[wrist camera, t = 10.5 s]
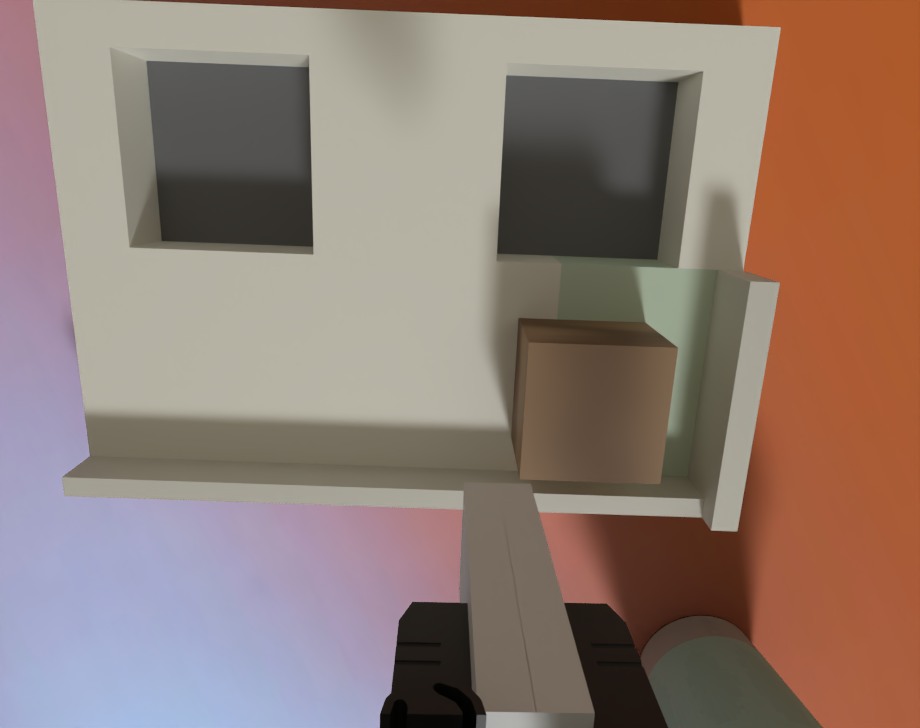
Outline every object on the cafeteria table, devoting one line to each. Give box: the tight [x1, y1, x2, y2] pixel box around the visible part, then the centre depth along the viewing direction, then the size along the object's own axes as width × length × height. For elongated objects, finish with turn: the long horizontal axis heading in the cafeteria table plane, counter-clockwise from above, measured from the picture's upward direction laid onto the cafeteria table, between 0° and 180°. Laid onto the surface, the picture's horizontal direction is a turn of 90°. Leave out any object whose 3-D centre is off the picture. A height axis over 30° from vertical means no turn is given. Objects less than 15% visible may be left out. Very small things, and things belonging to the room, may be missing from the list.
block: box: [511, 318, 678, 484], centre depth 24 cm, size 5×5×4 cm
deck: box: [33, 0, 781, 531], centre depth 25 cm, size 26×18×6 cm
